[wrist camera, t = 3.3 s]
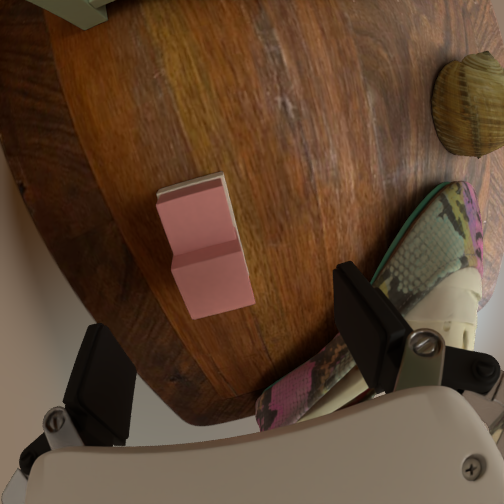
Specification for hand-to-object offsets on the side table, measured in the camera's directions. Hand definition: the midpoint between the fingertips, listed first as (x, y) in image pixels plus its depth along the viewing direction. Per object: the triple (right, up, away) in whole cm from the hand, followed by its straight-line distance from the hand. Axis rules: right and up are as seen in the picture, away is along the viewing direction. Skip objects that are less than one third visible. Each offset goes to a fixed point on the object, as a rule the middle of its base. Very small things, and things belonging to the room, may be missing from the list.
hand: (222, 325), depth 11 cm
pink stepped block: (-2, +4, +7) cm, 9 cm away
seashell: (+18, +15, +5) cm, 24 cm away
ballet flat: (+11, -3, +14) cm, 18 cm away
